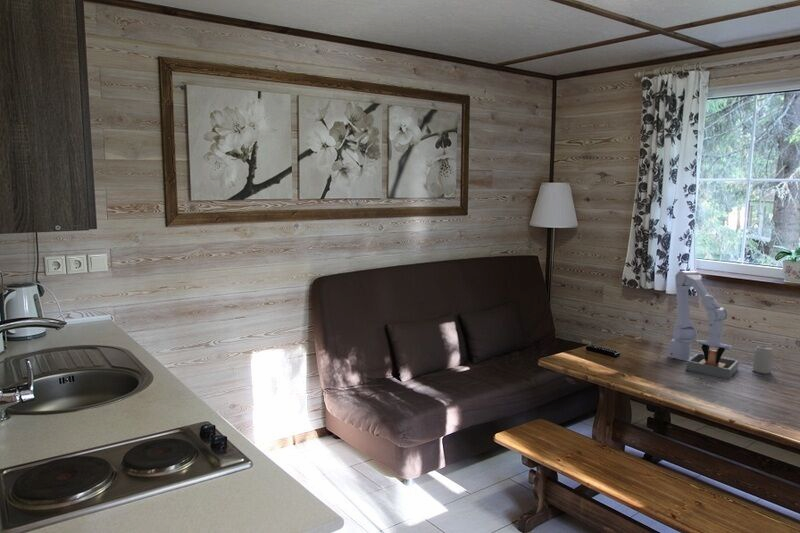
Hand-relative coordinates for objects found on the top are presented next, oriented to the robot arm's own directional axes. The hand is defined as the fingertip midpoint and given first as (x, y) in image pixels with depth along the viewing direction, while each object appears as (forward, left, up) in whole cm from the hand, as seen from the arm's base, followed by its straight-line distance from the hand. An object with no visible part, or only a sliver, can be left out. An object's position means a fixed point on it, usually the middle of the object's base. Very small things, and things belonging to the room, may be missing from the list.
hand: (711, 362), depth 277 cm
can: (+18, +16, -5) cm, 25 cm away
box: (0, +2, -4) cm, 5 cm away
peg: (0, 0, -3) cm, 3 cm away
